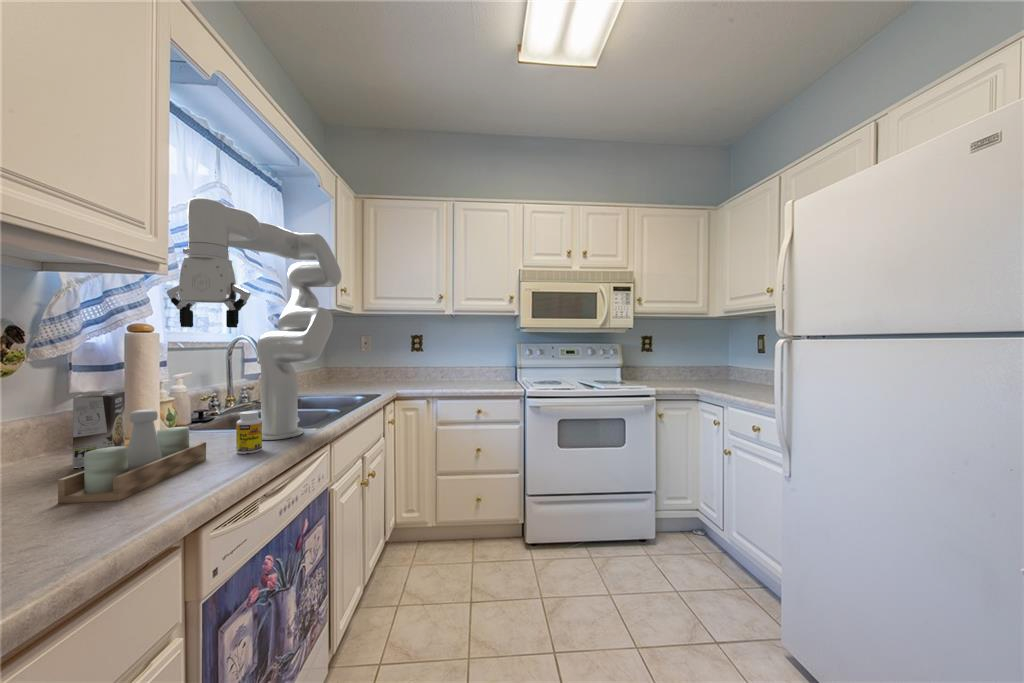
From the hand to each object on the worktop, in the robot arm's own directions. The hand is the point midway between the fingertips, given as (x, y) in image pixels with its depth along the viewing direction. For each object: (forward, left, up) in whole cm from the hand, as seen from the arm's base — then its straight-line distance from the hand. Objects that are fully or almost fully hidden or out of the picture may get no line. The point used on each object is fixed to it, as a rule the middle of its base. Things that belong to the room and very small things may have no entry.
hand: (209, 327), depth 90 cm
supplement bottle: (-9, +4, -32) cm, 34 cm away
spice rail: (+9, -7, -32) cm, 34 cm away
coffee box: (-4, -26, -32) cm, 41 cm away
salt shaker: (+9, -7, -31) cm, 33 cm away
